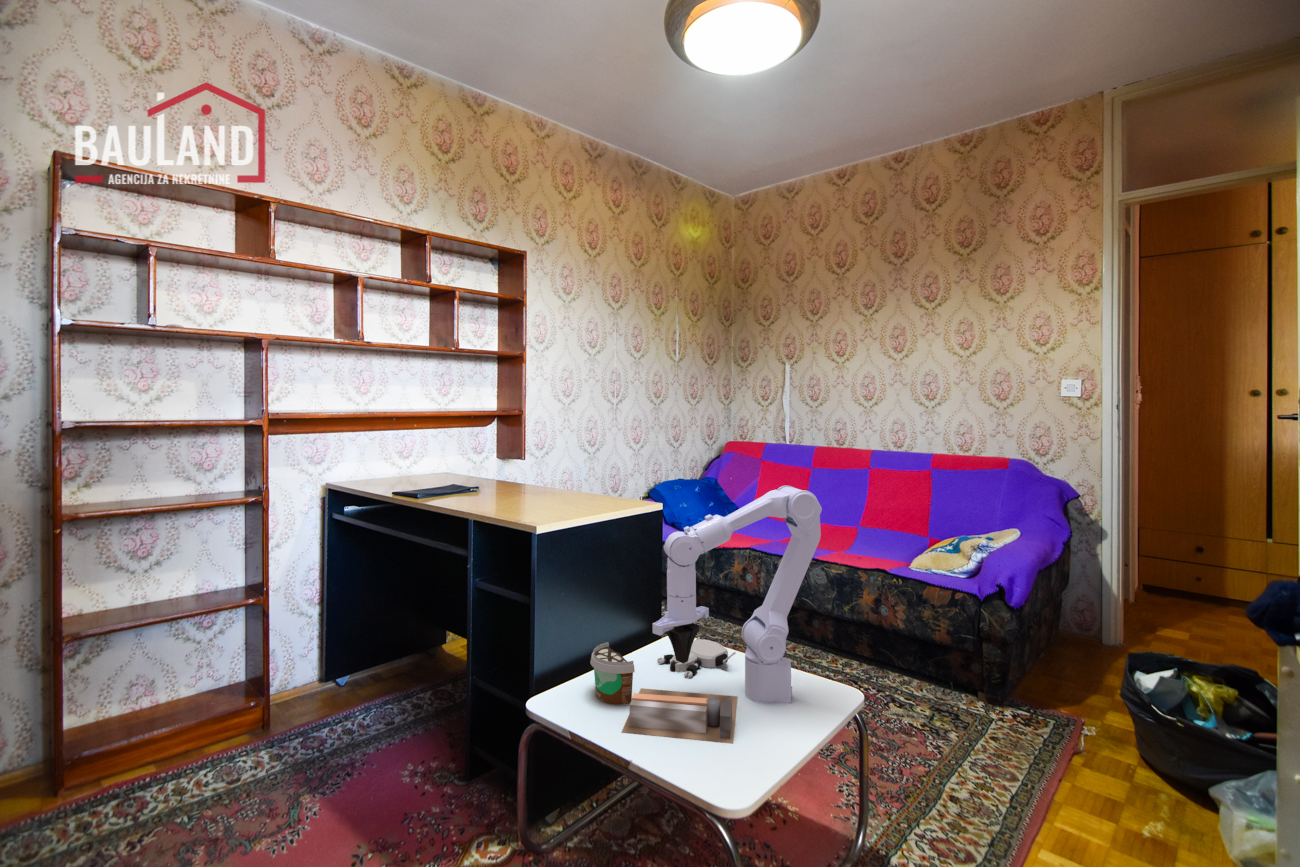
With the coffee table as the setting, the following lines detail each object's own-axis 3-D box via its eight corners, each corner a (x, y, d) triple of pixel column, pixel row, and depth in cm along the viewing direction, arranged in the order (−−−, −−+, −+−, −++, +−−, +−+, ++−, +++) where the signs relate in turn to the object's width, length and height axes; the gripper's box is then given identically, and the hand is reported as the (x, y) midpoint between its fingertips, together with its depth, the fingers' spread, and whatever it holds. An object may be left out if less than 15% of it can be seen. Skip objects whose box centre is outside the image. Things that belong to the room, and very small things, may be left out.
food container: (581, 694, 128) (580, 646, 128) (607, 687, 131) (607, 641, 131) (606, 719, 117) (606, 668, 117) (634, 712, 120) (634, 661, 120)
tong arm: (720, 719, 114) (720, 698, 114) (719, 726, 112) (719, 705, 112) (634, 713, 117) (634, 692, 117) (631, 719, 114) (631, 698, 114)
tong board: (737, 702, 124) (737, 677, 124) (733, 750, 107) (733, 720, 107) (640, 693, 128) (640, 669, 128) (621, 739, 110) (621, 710, 110)
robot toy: (689, 690, 132) (738, 667, 141) (688, 670, 132) (737, 648, 141) (654, 671, 142) (701, 651, 151) (653, 652, 141) (700, 633, 150)
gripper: (690, 582, 130) (690, 645, 130) (641, 597, 119) (641, 666, 120) (716, 588, 125) (716, 654, 125) (667, 605, 114) (668, 676, 115)
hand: (682, 661), depth 122 cm, fingers closed
